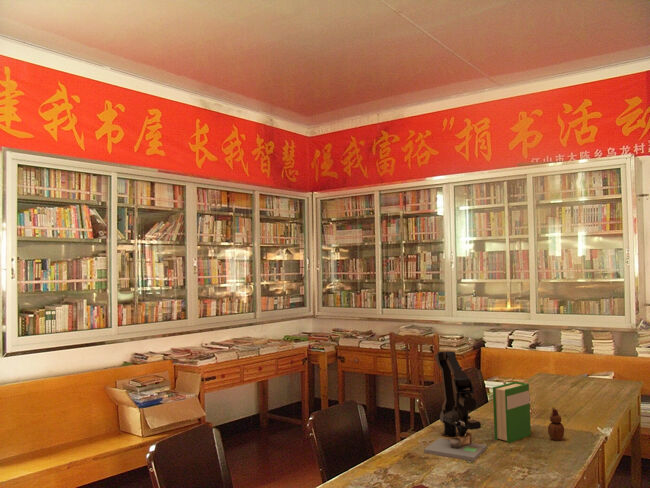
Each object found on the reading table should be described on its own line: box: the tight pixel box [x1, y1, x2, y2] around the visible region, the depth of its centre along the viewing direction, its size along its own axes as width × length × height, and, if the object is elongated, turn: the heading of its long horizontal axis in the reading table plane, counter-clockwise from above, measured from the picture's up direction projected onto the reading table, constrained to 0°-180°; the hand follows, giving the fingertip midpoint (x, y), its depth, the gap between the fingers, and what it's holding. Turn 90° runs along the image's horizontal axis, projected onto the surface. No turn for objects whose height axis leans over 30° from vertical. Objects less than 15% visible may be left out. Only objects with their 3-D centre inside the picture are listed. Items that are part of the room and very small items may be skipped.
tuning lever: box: [449, 431, 473, 448], centre depth 247 cm, size 12×4×4 cm, turn 123°
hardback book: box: [492, 381, 532, 444], centre depth 261 cm, size 18×7×24 cm, turn 128°
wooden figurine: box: [547, 406, 565, 441], centre depth 256 cm, size 7×6×15 cm
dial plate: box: [423, 437, 488, 462], centre depth 244 cm, size 18×22×2 cm
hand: (461, 439), depth 249 cm, fingers closed
